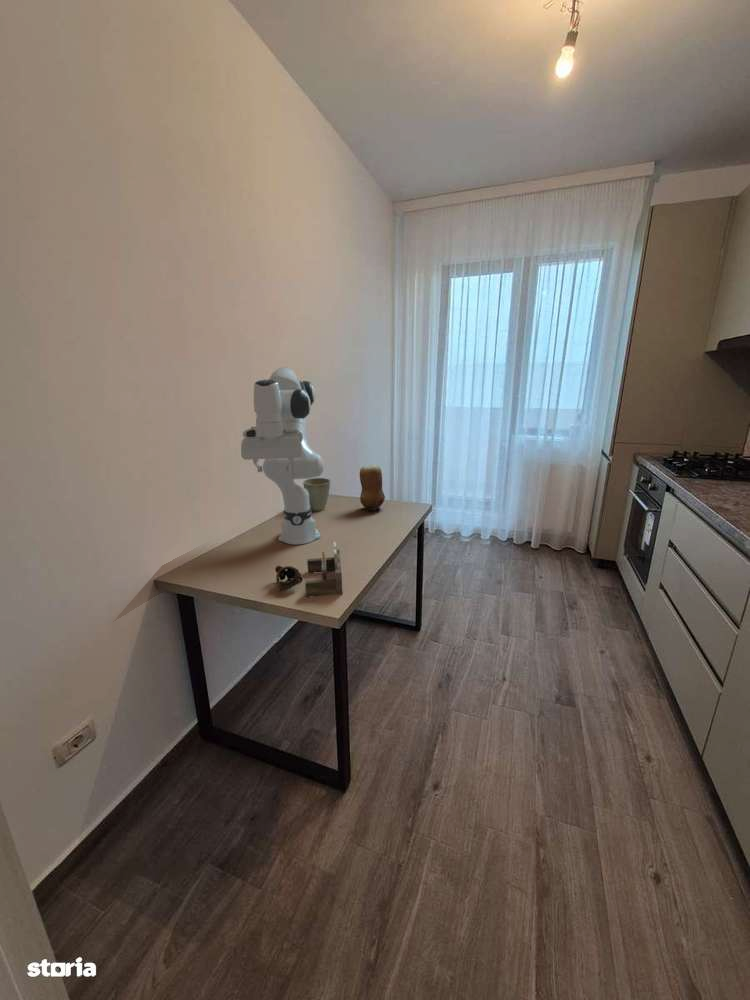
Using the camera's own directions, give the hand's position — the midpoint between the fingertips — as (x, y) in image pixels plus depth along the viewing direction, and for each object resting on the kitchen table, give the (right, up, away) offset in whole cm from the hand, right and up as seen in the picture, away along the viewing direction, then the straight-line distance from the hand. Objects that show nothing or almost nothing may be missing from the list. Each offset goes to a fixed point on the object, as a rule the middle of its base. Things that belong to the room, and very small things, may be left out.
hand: (274, 471), depth 137 cm
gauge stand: (+17, -39, +5) cm, 43 cm away
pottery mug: (+4, -40, +4) cm, 40 cm away
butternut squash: (+33, -15, +83) cm, 90 cm away
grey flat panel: (+17, -39, +5) cm, 43 cm away
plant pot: (+3, -15, +86) cm, 88 cm away
